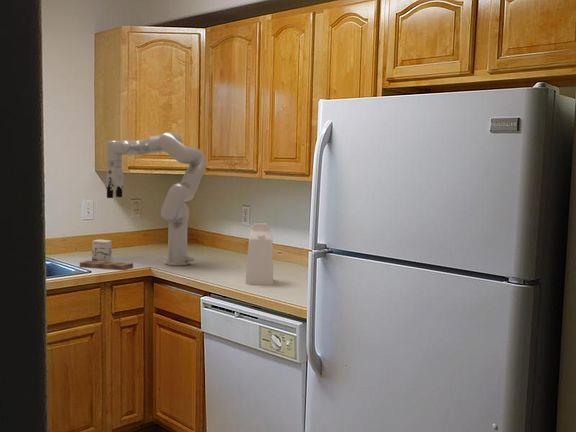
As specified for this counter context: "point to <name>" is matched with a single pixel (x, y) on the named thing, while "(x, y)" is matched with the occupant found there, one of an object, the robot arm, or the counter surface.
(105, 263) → the board
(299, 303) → the counter surface
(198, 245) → the counter surface
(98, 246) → the ink box
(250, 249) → the milk
